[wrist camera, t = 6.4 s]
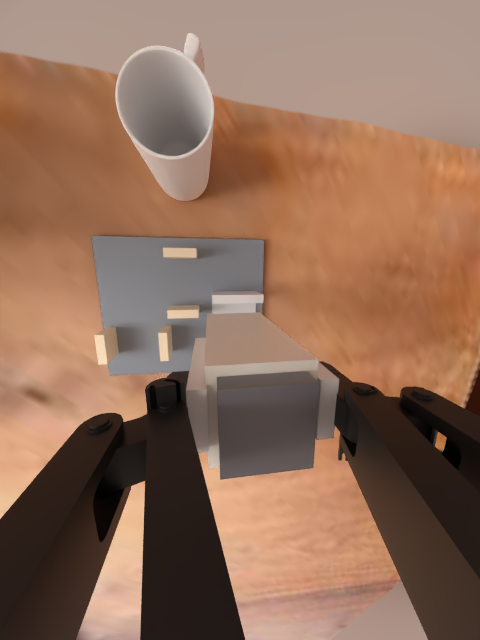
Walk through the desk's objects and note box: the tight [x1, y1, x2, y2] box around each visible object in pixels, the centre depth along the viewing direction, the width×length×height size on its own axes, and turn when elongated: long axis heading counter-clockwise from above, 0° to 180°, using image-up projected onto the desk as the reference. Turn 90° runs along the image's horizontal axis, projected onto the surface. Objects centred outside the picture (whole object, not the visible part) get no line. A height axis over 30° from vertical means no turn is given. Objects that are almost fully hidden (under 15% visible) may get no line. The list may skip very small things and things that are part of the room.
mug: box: [115, 33, 214, 201], centre depth 22 cm, size 10×7×12 cm, turn 157°
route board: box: [91, 236, 264, 376], centre depth 29 cm, size 21×18×5 cm
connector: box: [204, 312, 319, 479], centre depth 14 cm, size 4×4×12 cm
